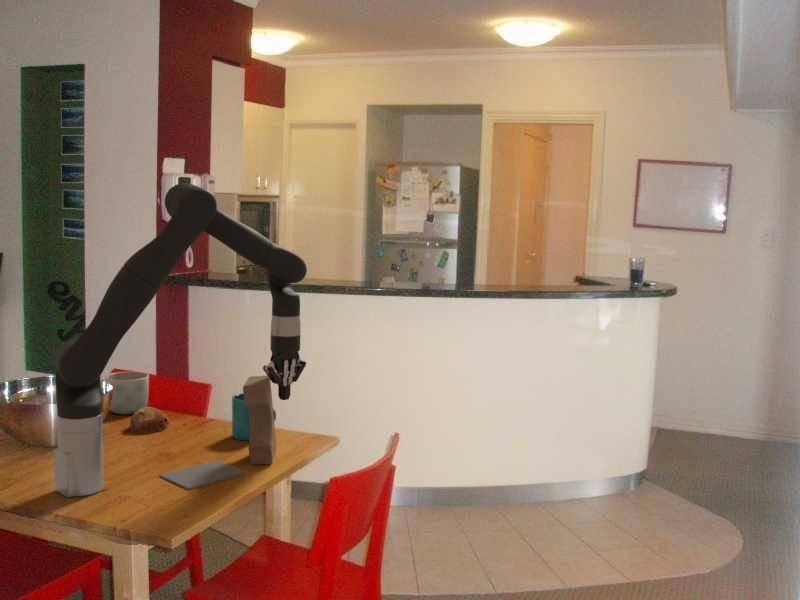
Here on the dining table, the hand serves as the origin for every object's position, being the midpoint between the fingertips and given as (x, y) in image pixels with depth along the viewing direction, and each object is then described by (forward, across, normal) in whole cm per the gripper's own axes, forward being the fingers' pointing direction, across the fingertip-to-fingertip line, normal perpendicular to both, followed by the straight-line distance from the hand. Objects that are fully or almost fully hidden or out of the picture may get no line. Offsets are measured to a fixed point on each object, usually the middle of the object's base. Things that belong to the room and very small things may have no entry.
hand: (284, 399), depth 207 cm
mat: (+14, -24, 0) cm, 28 cm away
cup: (+15, +4, +17) cm, 23 cm away
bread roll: (+15, -13, +43) cm, 47 cm away
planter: (+15, -8, +63) cm, 65 cm away
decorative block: (+14, -6, 0) cm, 16 cm away
